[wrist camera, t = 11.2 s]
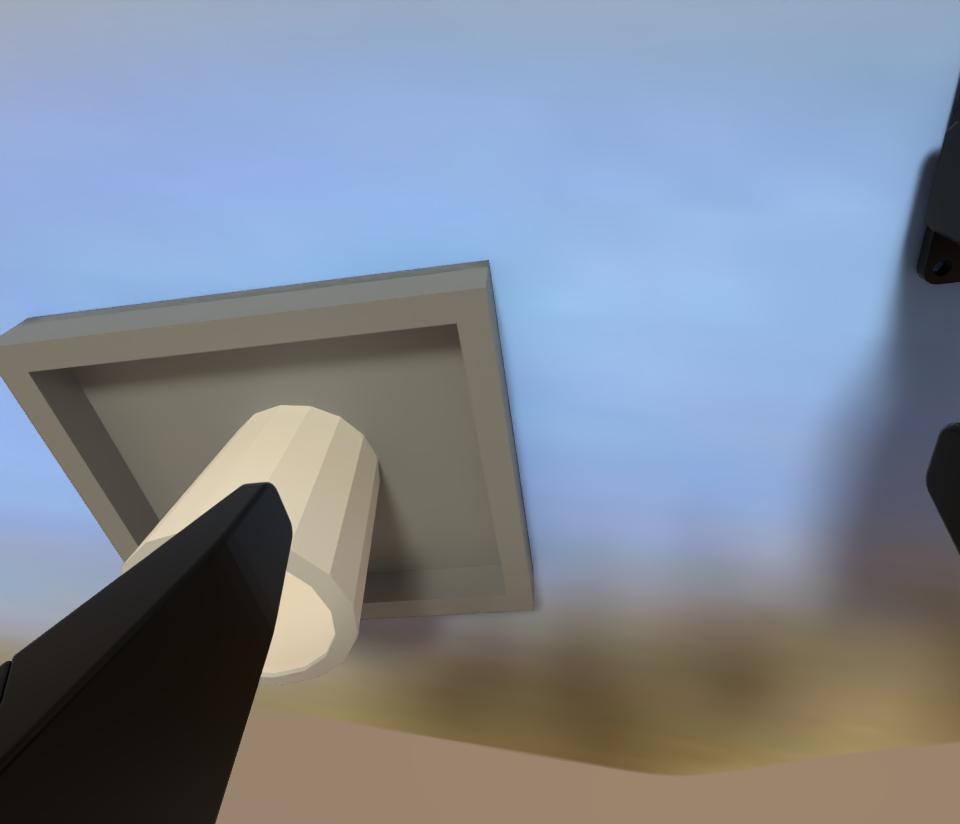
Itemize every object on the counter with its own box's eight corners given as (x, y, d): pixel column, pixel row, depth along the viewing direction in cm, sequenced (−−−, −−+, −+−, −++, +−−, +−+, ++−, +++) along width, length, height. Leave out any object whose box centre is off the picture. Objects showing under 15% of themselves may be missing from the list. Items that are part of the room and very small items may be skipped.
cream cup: (408, 411, 22) (369, 560, 16) (385, 544, 26) (346, 704, 20) (213, 372, 21) (99, 511, 16) (218, 514, 25) (129, 668, 19)
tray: (488, 259, 19) (485, 287, 17) (532, 568, 27) (534, 609, 25) (28, 318, 21) (-19, 348, 19) (191, 590, 29) (169, 630, 27)
